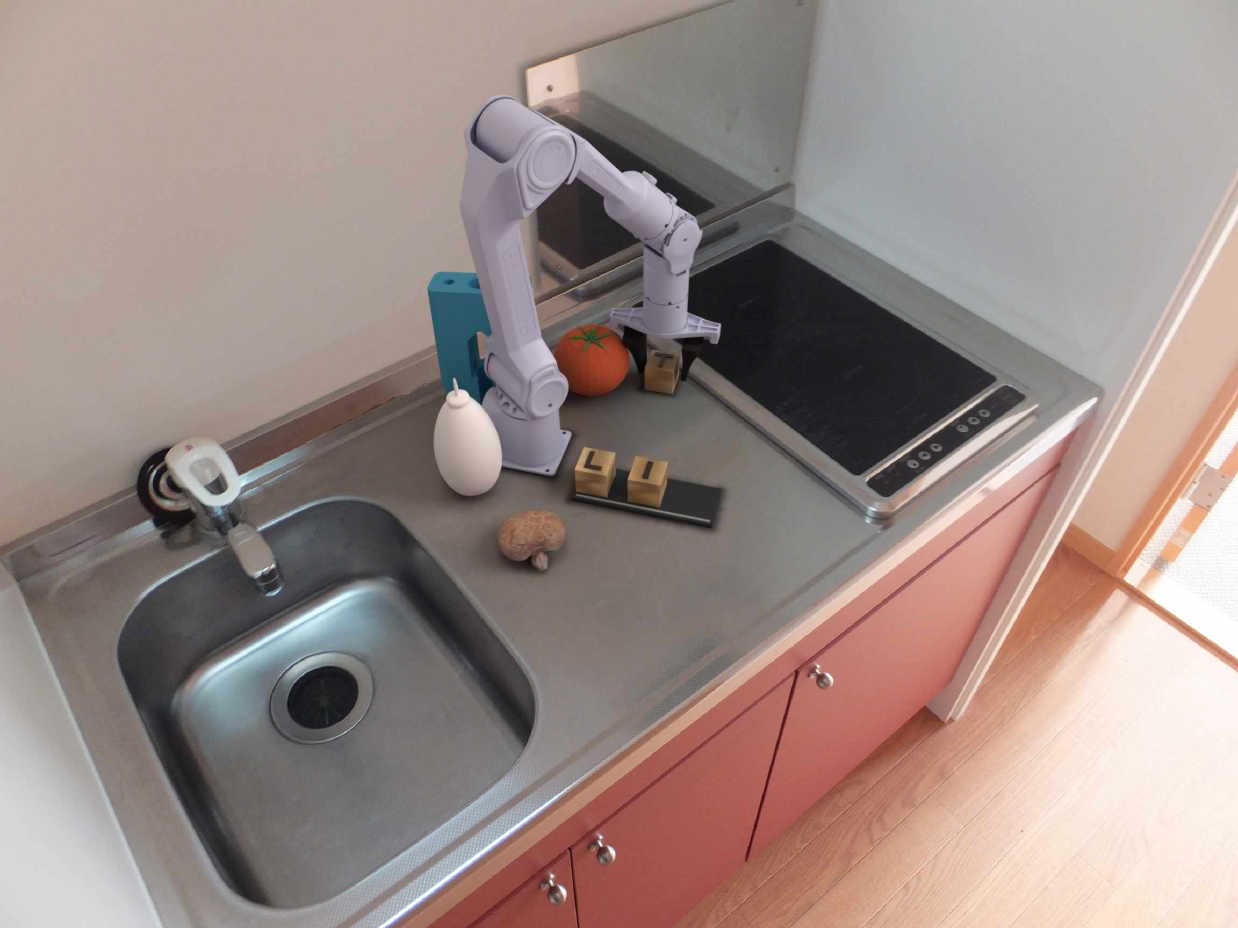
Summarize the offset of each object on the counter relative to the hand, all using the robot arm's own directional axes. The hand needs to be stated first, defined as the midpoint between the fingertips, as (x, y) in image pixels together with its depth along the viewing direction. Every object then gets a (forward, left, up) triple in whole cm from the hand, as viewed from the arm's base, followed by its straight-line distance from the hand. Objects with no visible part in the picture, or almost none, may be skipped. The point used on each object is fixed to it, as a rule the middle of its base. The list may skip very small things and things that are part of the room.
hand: (663, 373), depth 121 cm
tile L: (-4, -21, -1) cm, 22 cm away
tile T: (0, 0, -2) cm, 2 cm away
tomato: (-9, -3, -2) cm, 10 cm away
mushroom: (-8, -32, -2) cm, 33 cm away
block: (-20, -13, -2) cm, 24 cm away
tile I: (+3, -21, -1) cm, 21 cm away
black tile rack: (+3, -21, -2) cm, 21 cm away
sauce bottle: (-18, -25, -2) cm, 31 cm away
